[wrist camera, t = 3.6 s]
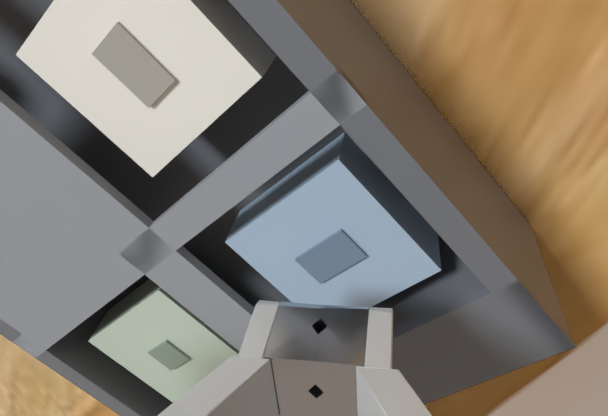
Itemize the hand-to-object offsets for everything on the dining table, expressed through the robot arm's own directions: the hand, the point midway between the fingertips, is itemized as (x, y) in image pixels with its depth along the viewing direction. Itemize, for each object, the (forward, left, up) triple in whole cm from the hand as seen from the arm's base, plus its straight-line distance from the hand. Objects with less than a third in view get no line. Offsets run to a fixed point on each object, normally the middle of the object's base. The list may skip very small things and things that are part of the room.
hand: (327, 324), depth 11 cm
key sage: (-7, 0, -4) cm, 8 cm away
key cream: (0, +7, -4) cm, 8 cm away
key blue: (0, 0, -4) cm, 4 cm away
